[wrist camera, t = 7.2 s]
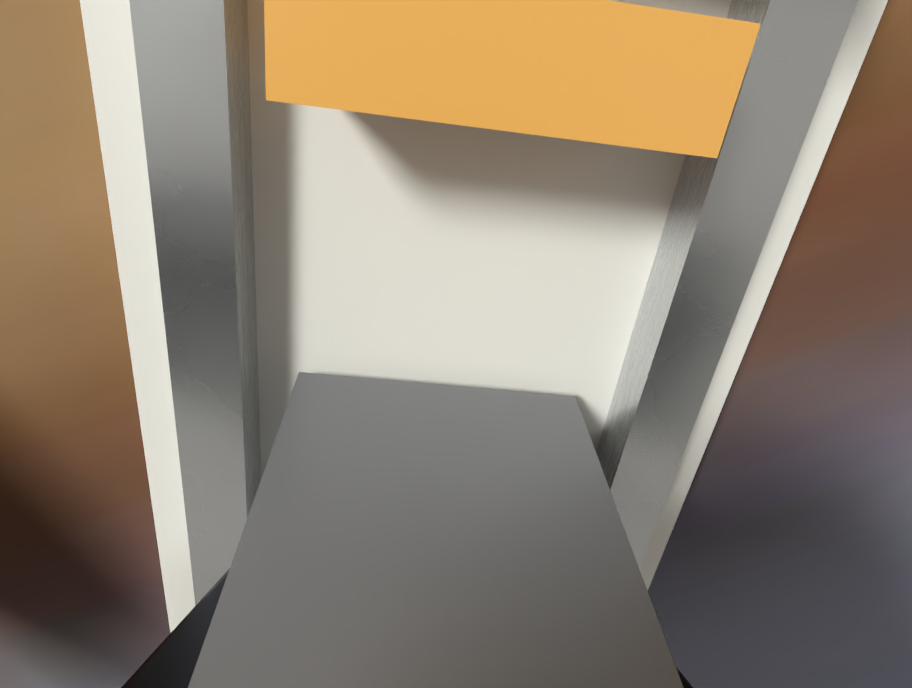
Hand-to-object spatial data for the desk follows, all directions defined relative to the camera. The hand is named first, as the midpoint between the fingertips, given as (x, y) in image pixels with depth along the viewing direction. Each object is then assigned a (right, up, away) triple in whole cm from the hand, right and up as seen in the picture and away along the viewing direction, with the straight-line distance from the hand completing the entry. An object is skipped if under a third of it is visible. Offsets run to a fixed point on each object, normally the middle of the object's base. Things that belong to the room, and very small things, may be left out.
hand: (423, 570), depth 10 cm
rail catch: (+1, +7, -2) cm, 8 cm away
